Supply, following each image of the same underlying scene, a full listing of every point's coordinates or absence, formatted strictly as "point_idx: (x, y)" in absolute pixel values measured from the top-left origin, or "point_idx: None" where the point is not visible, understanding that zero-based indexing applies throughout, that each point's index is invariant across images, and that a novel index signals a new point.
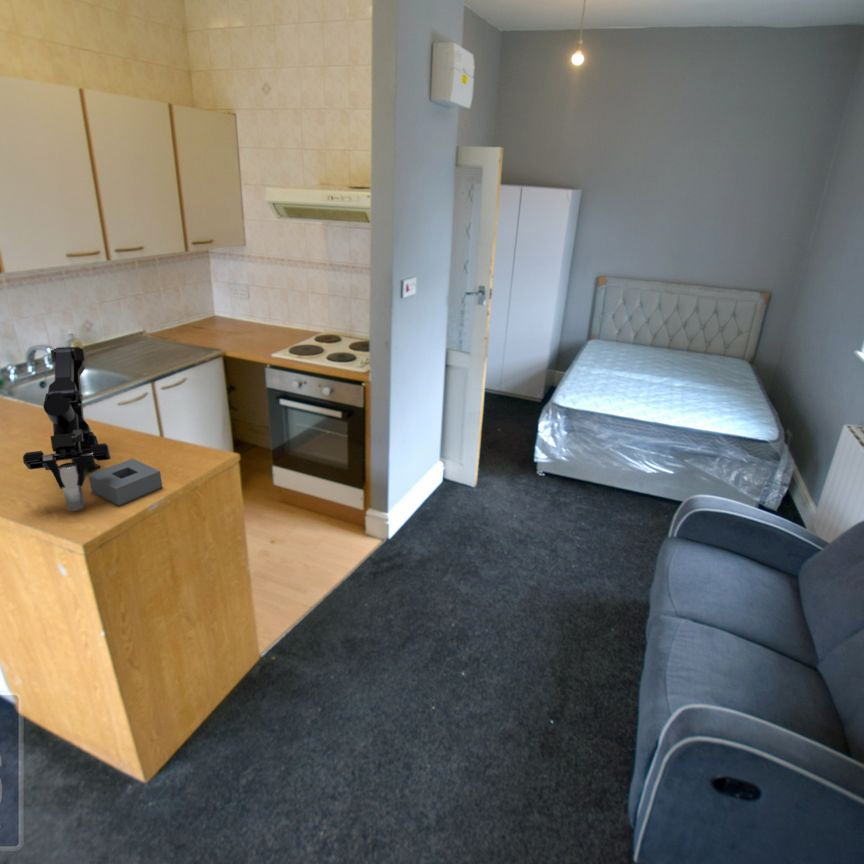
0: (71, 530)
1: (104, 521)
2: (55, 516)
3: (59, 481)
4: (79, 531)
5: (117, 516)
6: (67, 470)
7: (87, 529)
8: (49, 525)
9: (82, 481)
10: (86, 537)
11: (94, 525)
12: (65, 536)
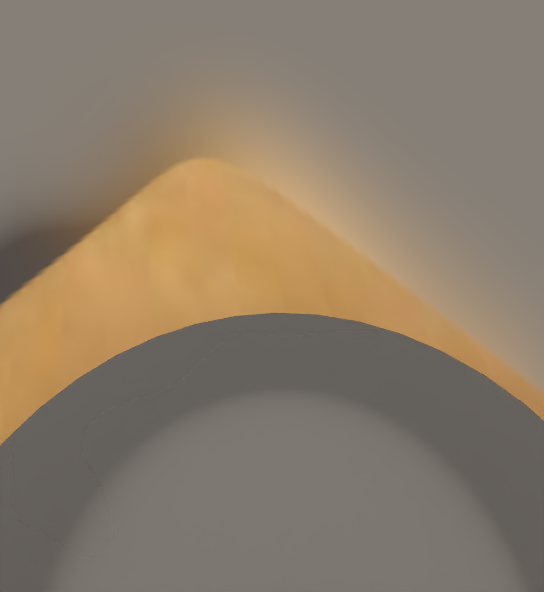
0: (281, 266)
1: (105, 324)
2: None
3: None
4: (236, 247)
5: (26, 367)
6: (237, 336)
7: (195, 257)
8: None
9: None
10: (194, 185)
11: (160, 291)
12: (300, 215)
